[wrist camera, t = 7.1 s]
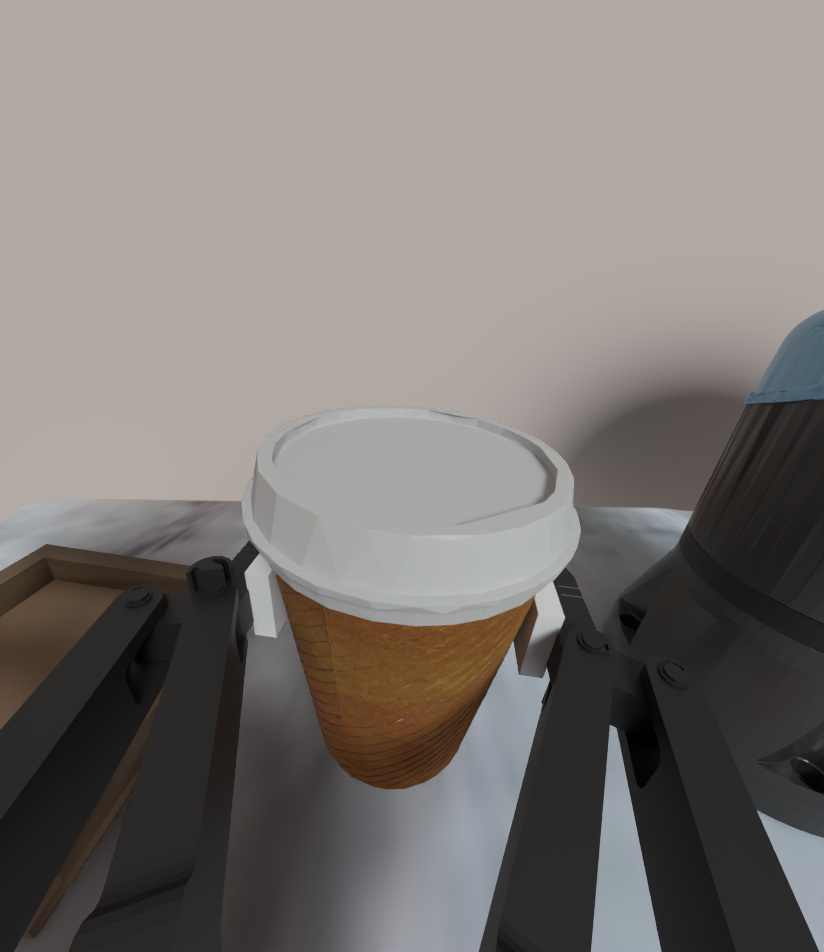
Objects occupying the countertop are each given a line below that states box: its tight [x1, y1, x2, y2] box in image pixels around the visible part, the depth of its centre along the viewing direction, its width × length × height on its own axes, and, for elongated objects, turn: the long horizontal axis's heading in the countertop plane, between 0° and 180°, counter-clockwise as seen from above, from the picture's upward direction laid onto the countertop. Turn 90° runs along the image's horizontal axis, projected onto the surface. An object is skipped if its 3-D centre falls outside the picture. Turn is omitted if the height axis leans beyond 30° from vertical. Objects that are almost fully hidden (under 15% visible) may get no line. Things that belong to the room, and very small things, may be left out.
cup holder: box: [0, 544, 191, 938], centre depth 19 cm, size 15×15×3 cm
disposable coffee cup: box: [241, 406, 581, 789], centre depth 13 cm, size 10×10×12 cm
